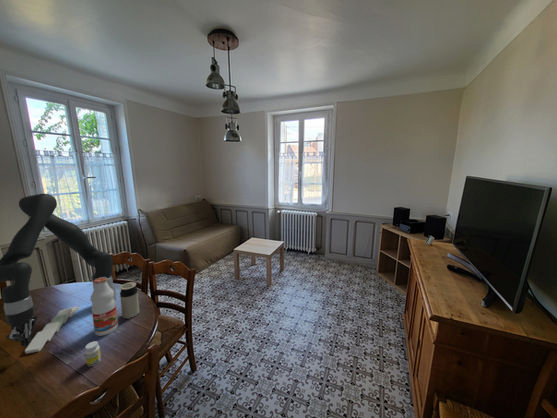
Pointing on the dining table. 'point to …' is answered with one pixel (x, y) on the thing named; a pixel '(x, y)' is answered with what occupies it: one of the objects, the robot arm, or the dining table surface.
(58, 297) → the dining table surface
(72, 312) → the domino
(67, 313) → the domino
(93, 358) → the supplement bottle
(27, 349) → the domino
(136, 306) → the travel mug
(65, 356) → the dining table surface
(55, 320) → the domino
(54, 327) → the domino
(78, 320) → the dining table surface
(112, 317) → the fruit juice
